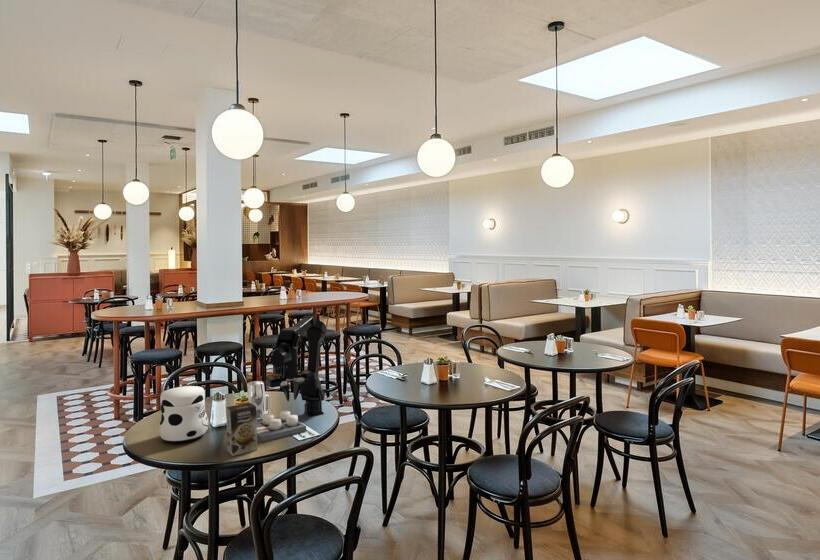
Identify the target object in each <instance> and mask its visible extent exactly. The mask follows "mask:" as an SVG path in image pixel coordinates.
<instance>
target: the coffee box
mask: <svg viewBox="0 0 820 560" xmlns="http://www.w3.org/2000/svg"><path fill="white" fill-rule="evenodd" d="M225 413H226V415H225V417H226V449H227V452H228V453H229V454H230V455H231V457H235V456H239V455H244V454H247V453H252V452H255V451H258V440H257V422H258V420H256V406H255V405H253V404H251V403H249V402H246V403H242V404H238V405H237V404H236V405H232V406H231V405H230V406H226V407H225Z"/></svg>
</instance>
